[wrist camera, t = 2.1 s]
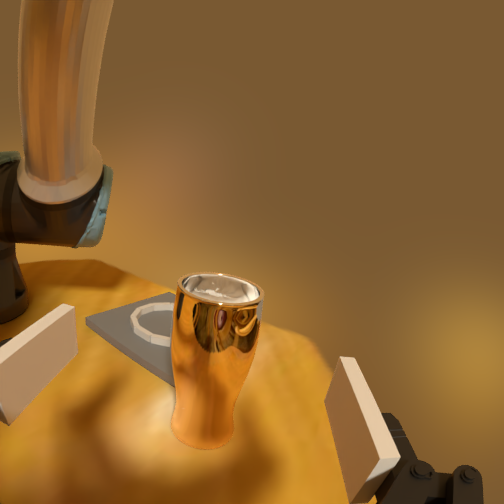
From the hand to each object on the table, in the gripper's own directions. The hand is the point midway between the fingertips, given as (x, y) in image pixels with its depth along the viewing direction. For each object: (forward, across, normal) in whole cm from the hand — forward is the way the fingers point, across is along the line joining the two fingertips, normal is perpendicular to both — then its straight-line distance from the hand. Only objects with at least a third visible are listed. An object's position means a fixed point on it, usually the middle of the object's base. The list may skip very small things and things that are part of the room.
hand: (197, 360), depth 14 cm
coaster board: (+28, -8, -14) cm, 32 cm away
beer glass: (+10, 0, -15) cm, 18 cm away
